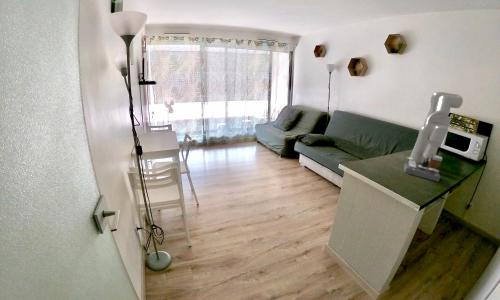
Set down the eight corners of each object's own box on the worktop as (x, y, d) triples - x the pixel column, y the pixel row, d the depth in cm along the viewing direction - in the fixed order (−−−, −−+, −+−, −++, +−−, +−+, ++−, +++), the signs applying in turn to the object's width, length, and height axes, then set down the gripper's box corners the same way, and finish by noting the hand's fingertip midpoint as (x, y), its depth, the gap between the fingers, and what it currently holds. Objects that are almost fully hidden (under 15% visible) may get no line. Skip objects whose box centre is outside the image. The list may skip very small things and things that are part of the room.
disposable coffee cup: (431, 172, 180) (437, 158, 175) (419, 167, 188) (425, 153, 184) (439, 172, 182) (446, 158, 178) (428, 167, 191) (434, 154, 187)
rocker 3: (428, 169, 174) (429, 167, 174) (435, 170, 172) (435, 169, 172) (431, 170, 166) (432, 168, 166) (438, 172, 164) (439, 170, 164)
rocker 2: (418, 166, 177) (418, 164, 176) (424, 167, 175) (425, 166, 175) (420, 167, 169) (421, 166, 168) (427, 169, 167) (428, 167, 167)
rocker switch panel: (402, 165, 188) (404, 160, 186) (433, 173, 179) (435, 168, 177) (404, 172, 172) (406, 167, 171) (438, 181, 164) (440, 176, 162)
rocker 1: (408, 161, 179) (409, 160, 178) (414, 163, 177) (415, 161, 177) (408, 167, 172) (409, 165, 172) (415, 168, 171) (416, 167, 170)
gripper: (426, 139, 170) (417, 162, 176) (430, 144, 157) (419, 168, 163) (438, 142, 166) (428, 165, 173) (443, 147, 154) (432, 171, 160)
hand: (424, 166), depth 168 cm, fingers closed
